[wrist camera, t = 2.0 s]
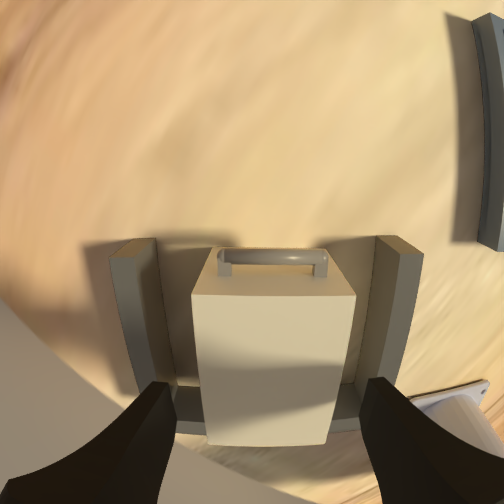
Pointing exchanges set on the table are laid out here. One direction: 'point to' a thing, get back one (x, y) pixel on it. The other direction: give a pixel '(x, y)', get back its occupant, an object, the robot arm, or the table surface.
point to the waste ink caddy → (270, 344)
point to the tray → (492, 127)
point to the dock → (189, 398)
